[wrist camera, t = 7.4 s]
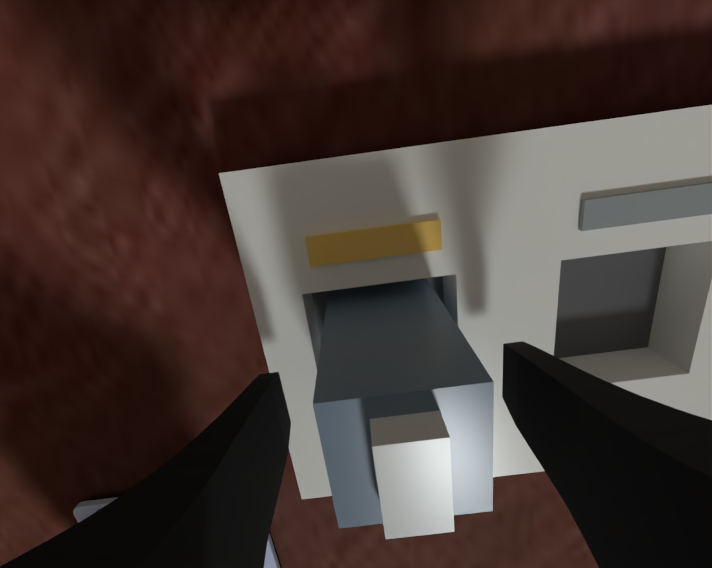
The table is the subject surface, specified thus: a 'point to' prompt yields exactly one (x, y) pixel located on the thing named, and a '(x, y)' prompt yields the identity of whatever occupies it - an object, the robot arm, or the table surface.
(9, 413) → the table surface
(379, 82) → the table surface
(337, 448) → the plug
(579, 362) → the socket panel
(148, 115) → the table surface
